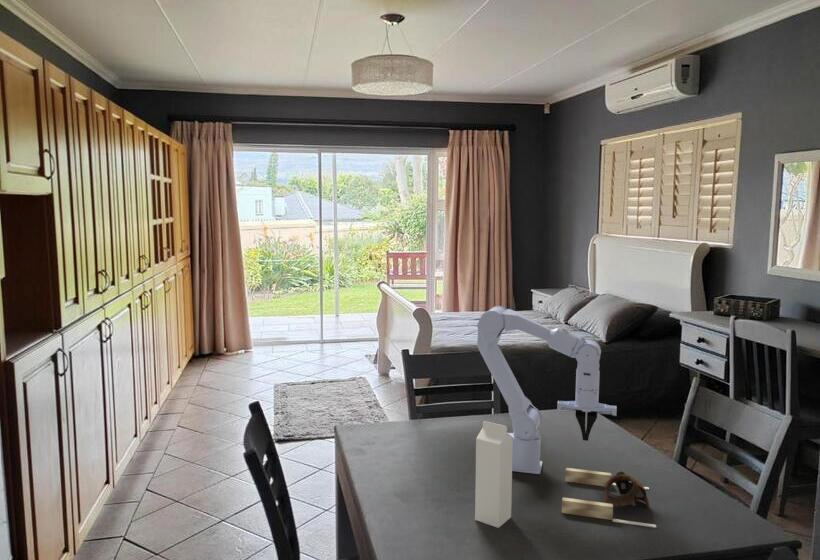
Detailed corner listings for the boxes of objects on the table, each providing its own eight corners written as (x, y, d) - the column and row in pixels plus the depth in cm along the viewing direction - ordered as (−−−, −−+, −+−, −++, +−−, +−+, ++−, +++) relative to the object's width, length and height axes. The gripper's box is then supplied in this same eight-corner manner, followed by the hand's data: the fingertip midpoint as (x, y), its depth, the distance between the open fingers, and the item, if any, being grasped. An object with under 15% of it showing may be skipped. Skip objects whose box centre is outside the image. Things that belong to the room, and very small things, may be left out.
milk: (488, 509, 140) (489, 416, 138) (511, 517, 137) (513, 422, 134) (474, 520, 135) (475, 424, 133) (498, 528, 132) (500, 430, 130)
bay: (612, 521, 135) (612, 520, 135) (610, 483, 154) (610, 482, 154) (656, 527, 132) (656, 526, 132) (648, 488, 151) (648, 487, 151)
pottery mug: (658, 517, 138) (646, 491, 135) (618, 532, 140) (605, 506, 137) (640, 481, 149) (629, 456, 147) (604, 495, 151) (592, 471, 148)
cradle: (561, 512, 139) (562, 500, 139) (565, 478, 156) (566, 467, 156) (612, 520, 136) (613, 507, 135) (610, 484, 153) (611, 473, 153)
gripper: (557, 389, 154) (555, 441, 155) (617, 394, 150) (615, 448, 151) (558, 382, 161) (557, 432, 162) (616, 386, 156) (614, 438, 158)
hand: (585, 439), depth 157 cm, fingers closed
